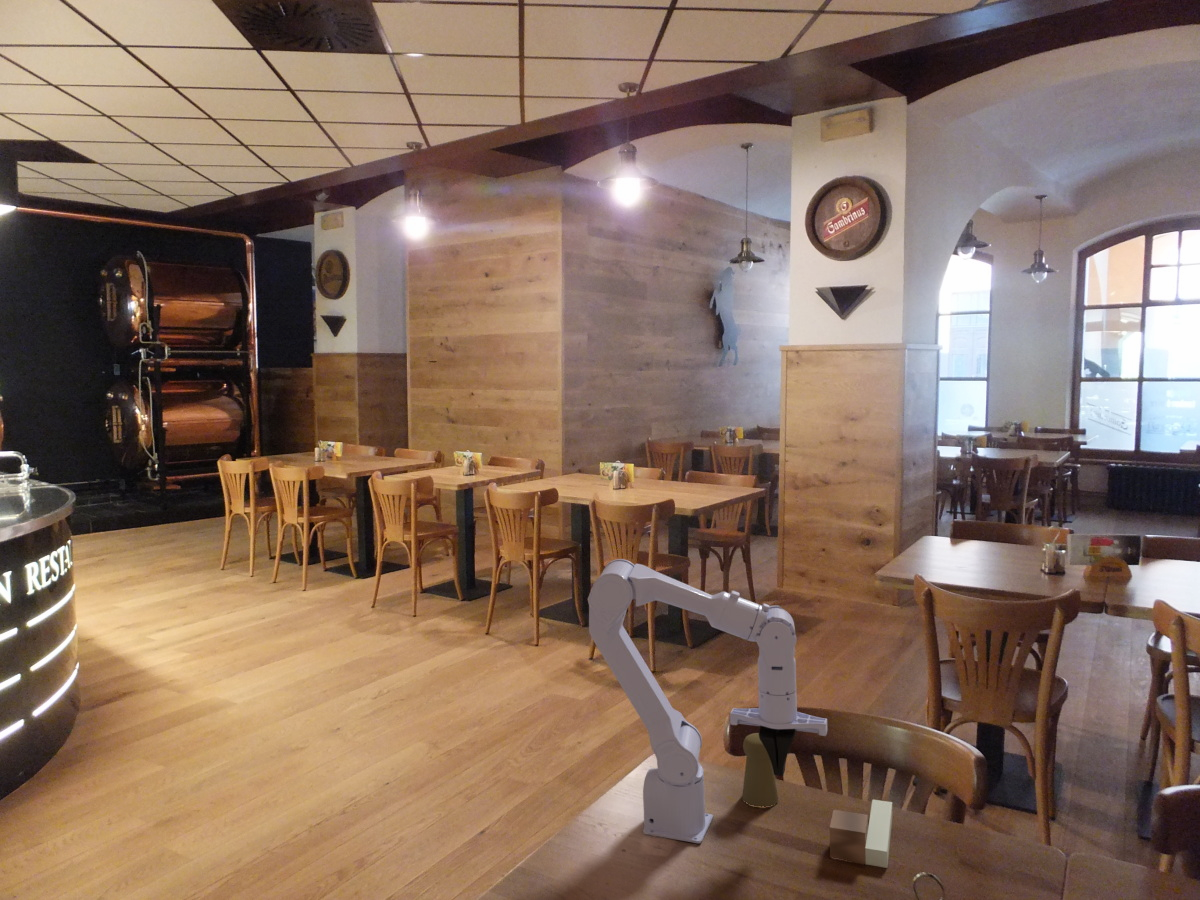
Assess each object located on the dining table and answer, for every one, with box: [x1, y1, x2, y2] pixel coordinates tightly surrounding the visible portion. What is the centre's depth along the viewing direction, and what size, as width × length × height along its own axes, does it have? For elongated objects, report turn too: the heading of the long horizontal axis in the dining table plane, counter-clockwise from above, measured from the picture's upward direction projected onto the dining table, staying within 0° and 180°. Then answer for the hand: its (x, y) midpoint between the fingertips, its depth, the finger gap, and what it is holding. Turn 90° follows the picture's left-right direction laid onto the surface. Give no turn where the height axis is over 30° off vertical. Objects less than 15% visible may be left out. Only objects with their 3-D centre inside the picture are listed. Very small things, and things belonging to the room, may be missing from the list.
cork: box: [741, 732, 779, 807], centre depth 141 cm, size 6×6×11 cm
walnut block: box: [829, 809, 869, 866], centre depth 126 cm, size 5×5×5 cm
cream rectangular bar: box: [865, 799, 893, 869], centre depth 129 cm, size 3×14×2 cm, turn 158°
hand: (779, 772), depth 131 cm, fingers closed
